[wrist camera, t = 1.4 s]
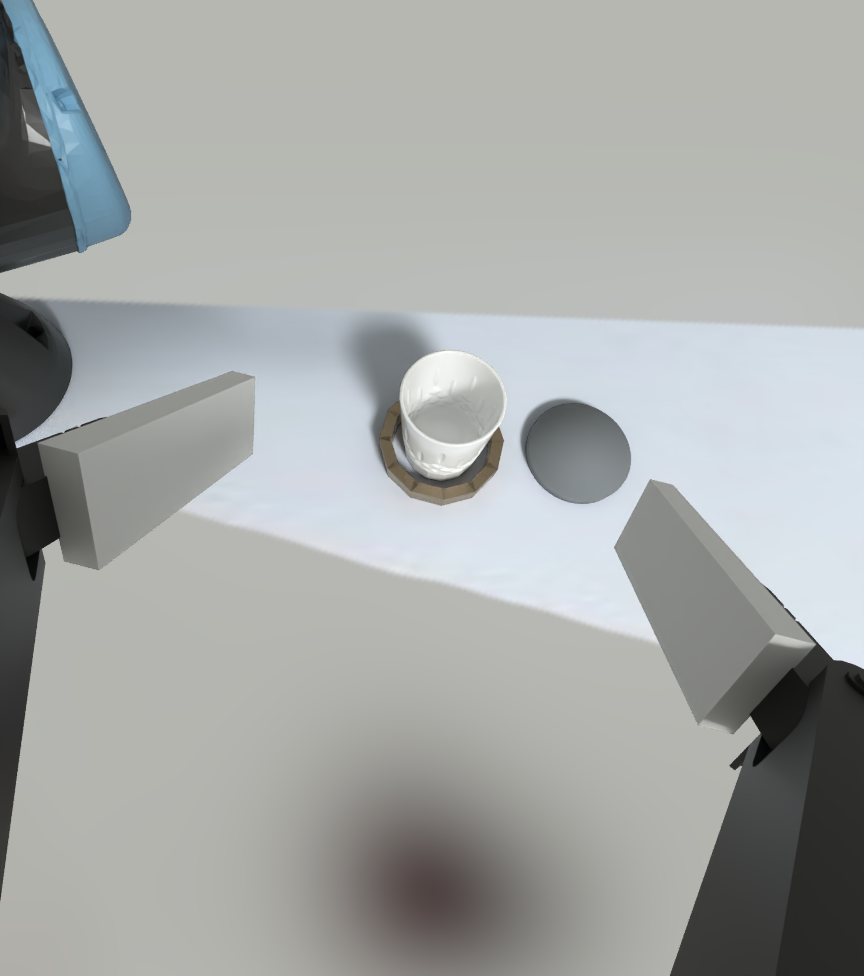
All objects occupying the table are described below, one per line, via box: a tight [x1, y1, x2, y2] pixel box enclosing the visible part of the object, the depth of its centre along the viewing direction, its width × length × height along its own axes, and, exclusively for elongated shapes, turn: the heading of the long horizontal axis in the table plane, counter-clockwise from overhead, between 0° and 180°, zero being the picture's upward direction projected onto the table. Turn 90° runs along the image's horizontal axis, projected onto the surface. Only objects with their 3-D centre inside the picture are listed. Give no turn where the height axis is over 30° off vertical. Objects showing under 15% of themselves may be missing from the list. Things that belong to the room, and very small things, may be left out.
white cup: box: [399, 350, 506, 481], centre depth 36 cm, size 8×8×10 cm
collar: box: [379, 400, 504, 506], centre depth 39 cm, size 11×11×2 cm
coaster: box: [526, 403, 631, 504], centre depth 41 cm, size 10×10×1 cm
